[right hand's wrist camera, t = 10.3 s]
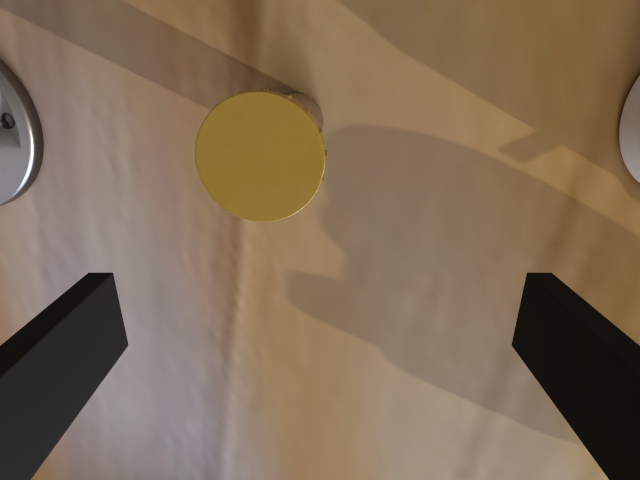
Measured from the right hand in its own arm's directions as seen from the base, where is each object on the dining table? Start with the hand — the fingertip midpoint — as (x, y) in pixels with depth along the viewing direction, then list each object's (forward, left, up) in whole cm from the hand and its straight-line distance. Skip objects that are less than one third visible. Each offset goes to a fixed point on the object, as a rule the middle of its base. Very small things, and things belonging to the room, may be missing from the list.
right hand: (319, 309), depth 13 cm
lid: (-5, +1, -6) cm, 7 cm away
